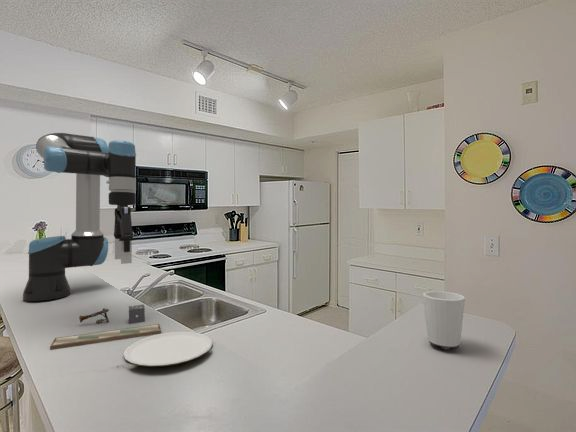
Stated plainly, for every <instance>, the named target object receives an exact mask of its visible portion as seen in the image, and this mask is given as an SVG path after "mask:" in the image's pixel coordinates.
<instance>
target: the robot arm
mask: <svg viewBox="0 0 576 432" xmlns="http://www.w3.org/2000/svg"><path fill="white" fill-rule="evenodd" d="M35 145H36V146H35V147H36V151H37V153H38V155H39V156H40V157H41V158H43V168H44V170H45V171H47V172H51V173H58V174H59V173H60V174H62V173H64V174H76V175H75V176H76V177H75V178H76V179H75V181H76V182H75V183H76V185H75V189H76V191H75V231H74V232H72V233H71V237H70V238H66V236H64V235H57V236H49V237H42V238H37V239H33V240H31V241H30V242H29V244H28V252H27V254H28V279H27V281H26V285H25V288H24V289H23V293H22V300H24V301H27V302H28V301H29V302H38V301H39V302H40V301H48V300H55V299H60V298H64V297H67V296H70V295H71V286H70V284H69V281H68V278H67V277H66V269H69V268H71V269H72V268H77V267H78V268H79V267H81V268H82V267H93V266H99V265H102V264H104V262H105V261H106V259H107V256H108V252H109V239H108V238H106V237H105V236H104V233H103V232H102V231H101V230H100V226H101V225H100V222H101V221H100V220H101V216H100V214H101V213H100V212H101V204H100V203H101V176H103V177H104V178H105V177H106V178H108V180H106V184H107V185H108V190H109V191H110V192H109V193H108V204H109V205H111V206H117V207H116V208H115V209H114V226H113V227H114V229H113V230H114V231H113V236H114V260H120V264H121V265H123V264H124V265H126V264H132V263H133V262H132V260H133V259H132V257H133V255H132V251H133V250H132V246H133V245H132V242H133V241H132V240H133V239H134V236H133V235H134V234H133V225H132V214H131V213H132V208H131V206H134V205H135V206H136V203H137V195H136V193H135V191H137V178H136V175H137V174H136V166H137V165H136V164H137V163H136V157H137V154H136V153H137V151H136V146H135V143H133V142H130V141H127V140H120V139H119V140H111V141H109V142H108V143H107V142H106V141H105V139H102V138H99V137H96V136H91V135H90V136H88V135H82V134H74V133H73V134H72V133H67V132H53V133H48V134H45V135H42V136H41V137H40V138H38V140H37V141H36V144H35Z"/></svg>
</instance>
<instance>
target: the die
mask: <svg viewBox="0 0 576 432" xmlns="http://www.w3.org/2000/svg"><path fill="white" fill-rule="evenodd" d="M145 309H146V307H145V304H138V305H129V306H128V324H129V325H131V324H138V323H143V322H144V323H145V319H146V318H145V317H146V316H145V315H146V314H145V311H146V310H145Z"/></svg>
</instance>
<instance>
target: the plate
mask: <svg viewBox="0 0 576 432" xmlns="http://www.w3.org/2000/svg"><path fill="white" fill-rule="evenodd" d="M212 346H213V341H212V339H211V337H209V336H208V335H206V334H204V333H200V332H192V331H173V332H172V331H171V332H164V333H160V334H153V335H149V336H147V337H144V338H142V339H138V340H136V341H135V342H133V343H132V344H130V345H128V347H127V348H126V349H125V350H124V352H123V357H124V360H125V361H127V362H128V363H129V364H132V365H134V366H135V365H136V366H139V367H147V368H155V367H156V368H158V367H168V366H175V365H181V364H183V363H184V364H185V363H188V362H191V361H194V360H196V359H198V358H200V357H202V356H204V355H206V354H207V353H208V352H209V351H210V350H211V349H212Z"/></svg>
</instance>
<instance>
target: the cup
mask: <svg viewBox="0 0 576 432" xmlns="http://www.w3.org/2000/svg"><path fill="white" fill-rule="evenodd" d="M422 299H423V300H422V301H423V307H424V317H425V318H424V319H425V328H426V337H427V340H428V343H429V344H430V346H433V347H436V346H439V347H440V348H441V349H443V350H449V348H452V349H459V348H460V346H461V339H462V332H463V331H462V330H463V320H464V313H465V312H464V310H465V301H466V297H465V296H464V295H462V294H460V293H456V292H452V291H451V292H450V291H442V290H441V291H440V290H439V291H438V290H432V291H426V292H423V293H422Z"/></svg>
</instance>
